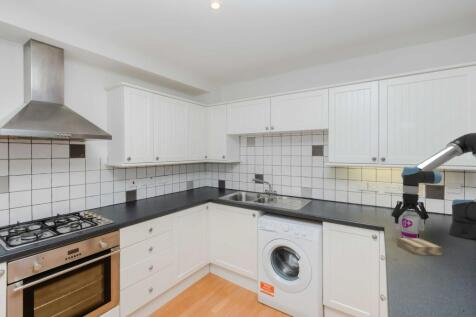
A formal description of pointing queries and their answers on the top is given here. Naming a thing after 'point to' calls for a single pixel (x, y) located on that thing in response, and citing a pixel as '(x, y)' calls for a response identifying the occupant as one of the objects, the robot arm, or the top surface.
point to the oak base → (419, 246)
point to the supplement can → (410, 226)
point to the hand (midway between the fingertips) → (409, 229)
